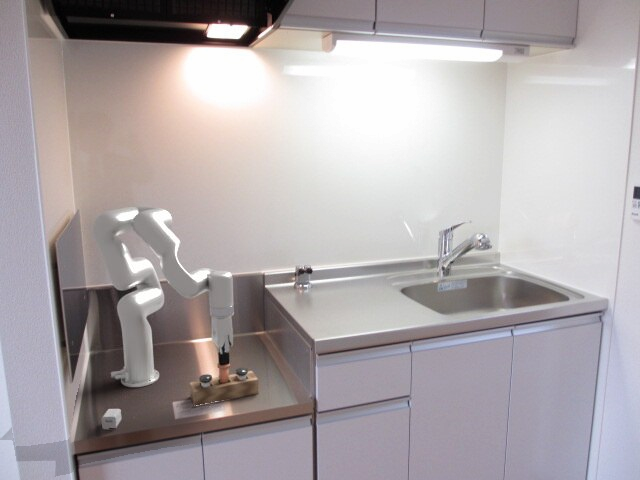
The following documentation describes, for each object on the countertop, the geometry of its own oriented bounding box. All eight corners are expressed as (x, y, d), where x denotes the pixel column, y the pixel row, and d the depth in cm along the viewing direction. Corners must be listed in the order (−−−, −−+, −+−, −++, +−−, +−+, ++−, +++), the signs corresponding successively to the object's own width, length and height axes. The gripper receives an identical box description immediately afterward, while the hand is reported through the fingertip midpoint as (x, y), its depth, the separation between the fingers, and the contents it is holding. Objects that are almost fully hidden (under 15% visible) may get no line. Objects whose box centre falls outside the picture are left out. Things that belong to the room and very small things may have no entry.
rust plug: (219, 387, 165) (219, 367, 164) (216, 381, 169) (216, 362, 167) (231, 384, 167) (231, 365, 165) (228, 379, 170) (228, 360, 169)
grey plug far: (238, 393, 168) (237, 374, 167) (234, 387, 172) (234, 368, 170) (249, 390, 170) (249, 371, 168) (246, 385, 173) (245, 366, 172)
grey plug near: (201, 400, 163) (200, 381, 162) (198, 395, 167) (198, 375, 165) (214, 398, 165) (213, 378, 164) (211, 392, 168) (210, 373, 167)
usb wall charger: (102, 429, 149) (101, 416, 148) (111, 416, 155) (110, 404, 155) (116, 429, 149) (115, 416, 148) (124, 416, 156) (123, 404, 155)
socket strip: (194, 406, 161) (194, 392, 160) (190, 396, 167) (189, 382, 166) (258, 393, 170) (258, 379, 169) (252, 384, 176) (251, 370, 175)
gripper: (204, 304, 168) (207, 357, 171) (215, 319, 154) (218, 375, 158) (227, 301, 171) (229, 353, 174) (239, 315, 157) (241, 370, 161)
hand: (224, 363), depth 166 cm, fingers closed
